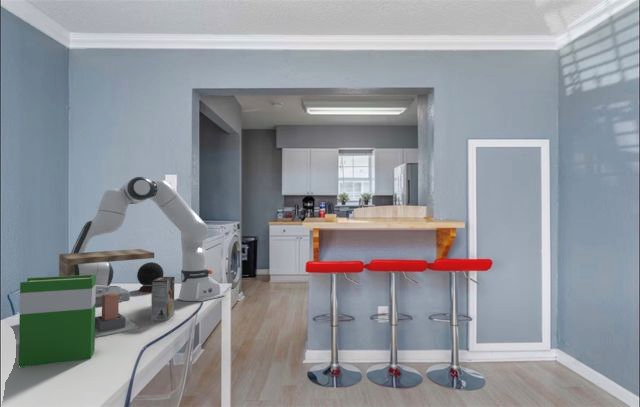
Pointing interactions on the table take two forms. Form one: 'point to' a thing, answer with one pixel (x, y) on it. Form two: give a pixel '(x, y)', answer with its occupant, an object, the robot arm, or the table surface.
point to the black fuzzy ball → (149, 275)
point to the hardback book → (56, 319)
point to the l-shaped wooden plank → (98, 258)
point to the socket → (113, 326)
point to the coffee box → (162, 299)
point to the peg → (110, 306)
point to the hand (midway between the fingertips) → (106, 302)
